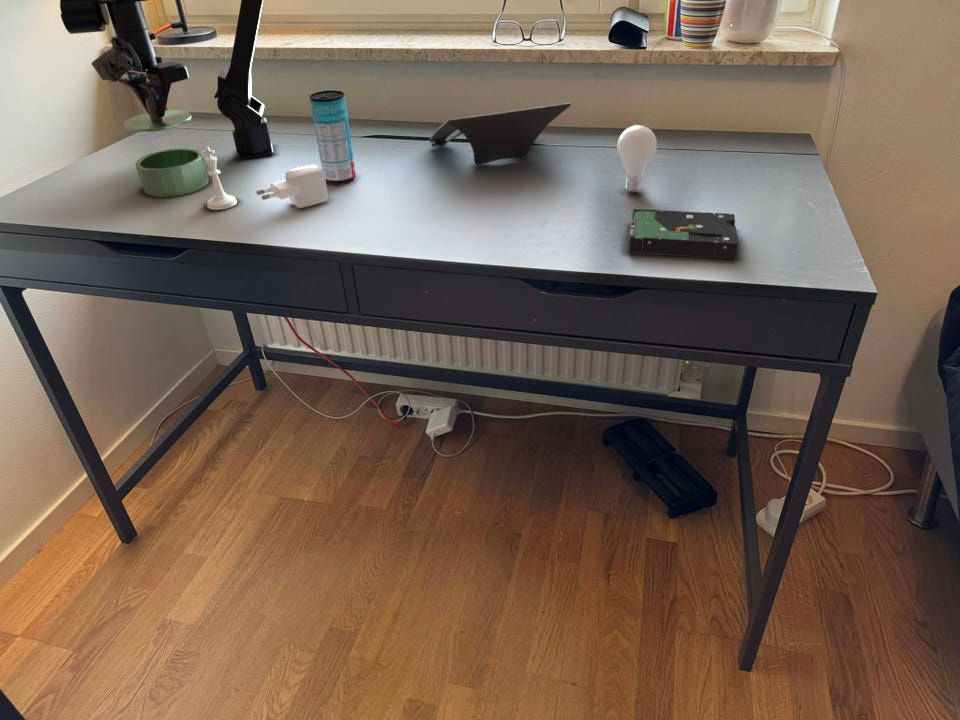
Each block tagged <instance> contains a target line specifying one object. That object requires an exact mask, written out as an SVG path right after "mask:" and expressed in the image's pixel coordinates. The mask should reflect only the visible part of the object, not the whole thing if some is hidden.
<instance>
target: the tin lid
mask: <svg viewBox="0 0 960 720" xmlns="http://www.w3.org/2000/svg"><path fill="white" fill-rule="evenodd" d="M145 102H146V105H147V108H148V112H149V114H148V113H147V112H146V113H142V114H137V115H135V116H132V117H130V118H128V119H127V120H125V121H124V122H123V127H124V129H125V130H127V131H129V132H138V133H139V132H140V133H153V132H155V133H156V132H161V131H167V130H171V129H175V128H177V127H180V126H182V125H185V124H187V123H188V122H190V121H191V120H192V113H190V112H189V111H186V110H180V109H179V110H178V109H166V110H165V116H164V117H162V118H159V117H158V115H157V113H156V111H155V109H154V106H153V104H152V101H151V98H150V97H147V98H145ZM149 115H150V116H149Z"/></svg>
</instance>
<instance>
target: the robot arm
mask: <svg viewBox="0 0 960 720" xmlns="http://www.w3.org/2000/svg"><path fill="white" fill-rule="evenodd" d="M147 1H148V0H59V8H60V18H61V21H62V24H63V26H64V28H65V30H66V31H67V32H68V33H69V34H70V35H74V34H88V33H101V32H105V31H106V27H107V26H108V25H110V24H112V28H113V31H114V34H115V36H112V37H110V39H111V40H110V43H111V46H112V47H111V48H110V49H108V50H106V51H104V52H103V53H102V54H101V55H99V56H98V57H97V58H96V59H94V60H93V61H92V62H91V66H92V67H93V69H94V70H95V72H96V73H97V74H98V76H99V77H100V78H101V80H102V81H110V82H113V83H115V82H119V83H120V84H123V85H125V86H126V87H127V88H129V89H131V90H132V92H133V93H134V94H135V96H136V97H137V99H138V101H139V102H140V103H141V106H143V108H144V110H145V111H146V113H148V114H149V112H148V108H147V105H146V102H145V98H147V97H150V98H151V101H152V104H153V106H154V109H155V111H156V113H157V115H158V117H159V118H162V117H164V116H165V110H167V104H168V100H169V99H168V98H169V94H170V91H171V87H172V84H174V83H177V82H182V81H186V80H189V78H190V77H189V72H188V68H187V66H185V65H184V64H183V63H181V62H176V61H166V62H163V58H162V56H158V55H156V51H155V48H154V44H153V41H154V40H157V37H156V34H155V32H150V29H149V27H148V22H147V19H146V16H145V13H144V8H143V6H142V2H147ZM263 5H264V0H240V6H239V12H238V18H237V23H236V28H235V29H236V30H235V35H234V39H233V47H232V51H231V52H232V53H231V57H230V63H229V68H228V70H224V69H220V71H219V73H218V75H217V89H216V91H215V93H214V96H213V98H214V99H217V101H216V102H217V103H216V105H217V108H218V110H219V111H220V113H221V115H223V116H224V117H225V118H227V119H229V120H230V122H231V123H232V125H233V128H234V129H232V138H233V141H234V146H235V149H236V154H238V155H239V158H240V159H241V160H243V159H251V158H258V157H260V158H261V157H267V156H274V149H273V143H272V142H271V138H270V132H269V128H268V123H267V119H266V117H263V116H264V111H265V104H264V103H262V102H261V101H260V100H258V99H257V98H255V97H254V96H253V95H252V63H253V58H254V53H255V49H256V48H255V47H256V41H257V35H258V30H259V25H260V20H261V16H262V15H261V14H262V9H263ZM110 22H111V23H110ZM149 116H150V115H149Z"/></svg>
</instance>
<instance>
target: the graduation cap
mask: <svg viewBox="0 0 960 720" xmlns="http://www.w3.org/2000/svg"><path fill="white" fill-rule="evenodd" d="M570 107H571V102H568V103H561V104H554V105H553V104H551V105H545V106H539V107H538V106H537V107H531V108H523V109H516V110H510V111H503V112H494V113H487V114H480V115H474V116H467V117H458V118H452V119H447V120H446V121H445V122H444V123H442V125H440V126H439V127H438V128H437V129H436V130H435V131H434V132H433V133H432V134H431V136H430V138H429V143H431V144H430V145H431V148H438V147H443V146H445V145H447V144H448V142H450V141H451V140H454V139H456V138H458V137H459V136H461V135H462V134H463V135H464V137H465V138H466V140H467V141H468V142H469V143H470V144H469V145H470V146H471V148H472V153H473V162H474V164H475V165H476V166H481V165H485V164H488V163H491V162H492V163H493V162H495V161H501V160H512V159H516V160H517V159H524V158H526V157H527V156H528V155H529V152H530V151H531V149H532V146H533V145H534V143H535V142H536V140H537V138H538V137H539V136H540V135H541V133H542V132H543V131H544V130H545V129H546V128H547V127H548V125H550V123H552V122H553V121H554V120H555V119H557V117H559V116H560V115H561V114H562V113H564V111H566V110H567V109H569V108H570Z"/></svg>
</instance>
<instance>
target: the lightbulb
mask: <svg viewBox="0 0 960 720" xmlns="http://www.w3.org/2000/svg"><path fill="white" fill-rule="evenodd" d="M657 150H658V140H657V137H656V134H655V133H654V132H653V130H652V129H651V128H649V127H648V126H646V125H642V124H641V125H639V124H637V125H632V126H629V127H628V128H626V129H624V131H623V132H622V133H621V134H620V136H619V137H618V140H617V144H616V151H617V154H618V157H619V158H620V160H621V162H622V163H623V166H624V172H625V177H626V179H625V190H627V191H628V192H630V193H637V192H639V191H641V190H642V189H643V188H642V187H643V177H644V174H645V172H646V169H647V166H648V164H649V163H650V162H651V160H652V159H653V158H654V157H655V155H656V152H657Z"/></svg>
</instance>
